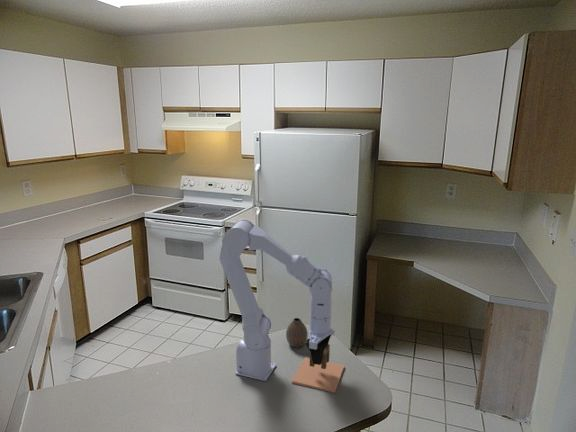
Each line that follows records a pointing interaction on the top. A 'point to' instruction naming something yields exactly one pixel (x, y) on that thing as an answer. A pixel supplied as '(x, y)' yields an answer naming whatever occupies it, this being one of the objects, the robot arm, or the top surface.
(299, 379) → the mat
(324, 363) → the notched brown block
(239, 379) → the top surface
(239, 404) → the top surface
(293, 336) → the vase
